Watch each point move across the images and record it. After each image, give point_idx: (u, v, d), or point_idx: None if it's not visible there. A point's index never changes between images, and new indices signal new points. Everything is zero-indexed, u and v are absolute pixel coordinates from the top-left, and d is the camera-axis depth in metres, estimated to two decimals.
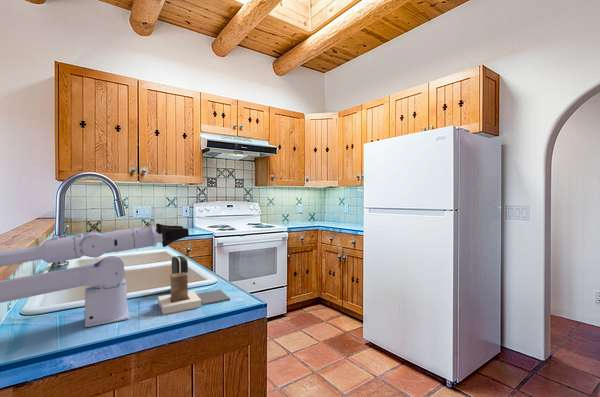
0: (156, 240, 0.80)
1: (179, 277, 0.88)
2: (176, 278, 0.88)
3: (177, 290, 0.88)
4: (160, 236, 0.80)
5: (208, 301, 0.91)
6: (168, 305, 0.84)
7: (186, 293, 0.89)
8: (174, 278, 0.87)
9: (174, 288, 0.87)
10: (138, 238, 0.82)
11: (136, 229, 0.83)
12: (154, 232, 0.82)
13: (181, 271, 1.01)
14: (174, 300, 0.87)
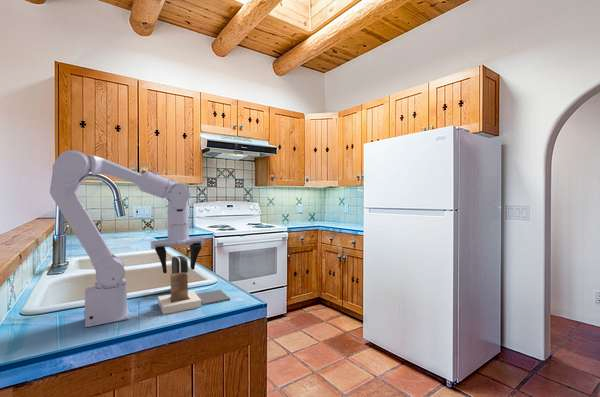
0: None
1: (179, 277, 0.88)
2: (176, 278, 0.88)
3: (177, 290, 0.88)
4: (151, 247, 0.85)
5: (208, 301, 0.91)
6: (168, 305, 0.84)
7: (186, 293, 0.89)
8: (174, 278, 0.87)
9: (174, 288, 0.87)
10: (168, 228, 0.88)
11: (175, 228, 0.87)
12: (160, 242, 0.86)
13: (181, 271, 1.01)
14: (174, 300, 0.87)
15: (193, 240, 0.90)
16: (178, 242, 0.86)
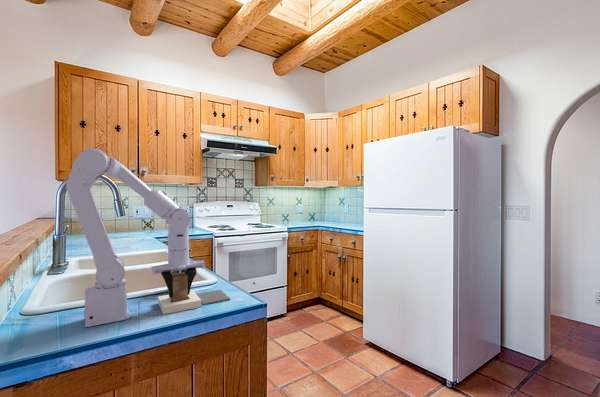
0: (151, 268, 0.86)
1: (179, 277, 0.88)
2: (176, 278, 0.88)
3: (177, 290, 0.88)
4: (151, 272, 0.86)
5: (208, 301, 0.91)
6: (168, 305, 0.84)
7: (186, 293, 0.89)
8: (174, 278, 0.87)
9: (174, 288, 0.87)
10: (168, 253, 0.88)
11: (175, 253, 0.87)
12: (161, 268, 0.86)
13: (181, 271, 1.01)
14: (174, 300, 0.87)
15: (193, 264, 0.90)
16: (178, 268, 0.86)
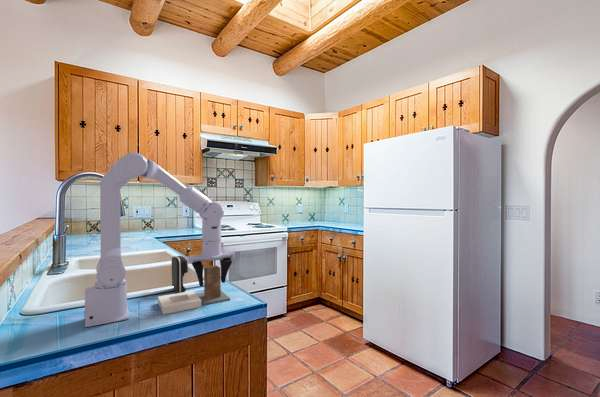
0: (187, 258, 0.92)
1: (213, 270, 0.94)
2: (210, 270, 0.94)
3: (211, 282, 0.94)
4: (188, 262, 0.92)
5: (208, 301, 0.91)
6: (168, 305, 0.84)
7: (219, 285, 0.95)
8: (208, 270, 0.93)
9: (208, 280, 0.93)
10: (202, 244, 0.94)
11: (209, 244, 0.93)
12: (196, 258, 0.92)
13: (181, 271, 1.01)
14: (208, 291, 0.93)
15: (225, 255, 0.96)
16: (213, 257, 0.92)
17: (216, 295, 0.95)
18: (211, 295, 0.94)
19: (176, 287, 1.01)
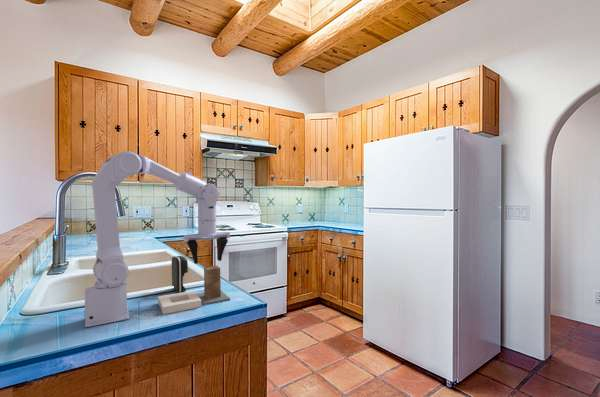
0: None
1: (213, 270, 0.94)
2: (210, 270, 0.94)
3: (211, 282, 0.94)
4: (184, 240, 0.96)
5: (208, 301, 0.91)
6: (168, 305, 0.84)
7: (219, 285, 0.95)
8: (208, 270, 0.93)
9: (208, 280, 0.93)
10: (198, 223, 0.98)
11: (205, 223, 0.97)
12: (192, 236, 0.96)
13: (181, 271, 1.01)
14: (208, 291, 0.93)
15: (220, 234, 1.00)
16: (208, 236, 0.96)
17: (216, 295, 0.95)
18: (211, 295, 0.94)
19: (176, 287, 1.01)
